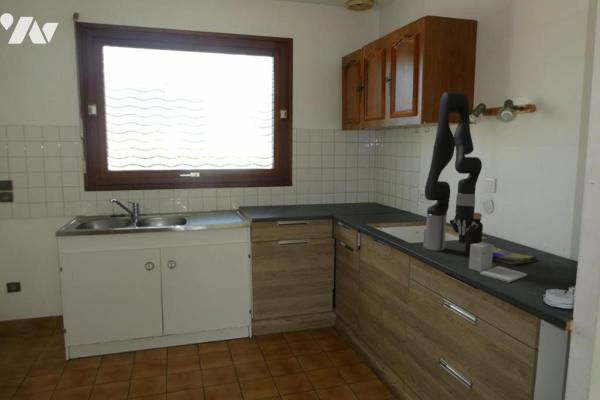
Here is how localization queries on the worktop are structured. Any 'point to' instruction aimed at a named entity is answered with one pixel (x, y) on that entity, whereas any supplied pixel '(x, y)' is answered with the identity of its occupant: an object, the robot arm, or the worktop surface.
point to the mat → (503, 274)
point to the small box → (481, 256)
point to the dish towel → (511, 257)
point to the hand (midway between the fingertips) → (462, 243)
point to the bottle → (474, 234)
